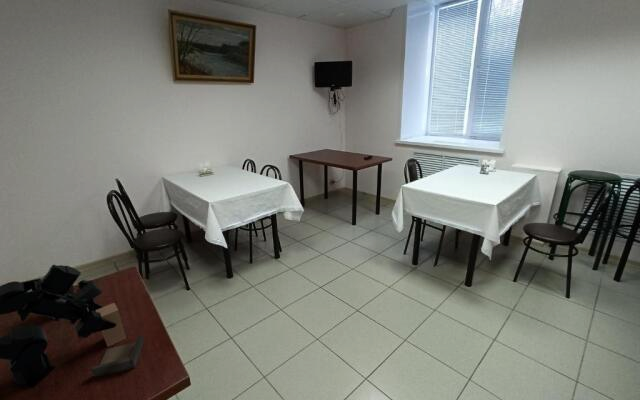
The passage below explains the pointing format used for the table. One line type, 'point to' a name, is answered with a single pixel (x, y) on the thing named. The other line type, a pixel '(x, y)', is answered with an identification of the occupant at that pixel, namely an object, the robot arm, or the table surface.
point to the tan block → (113, 315)
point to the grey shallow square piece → (119, 358)
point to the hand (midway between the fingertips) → (111, 318)
